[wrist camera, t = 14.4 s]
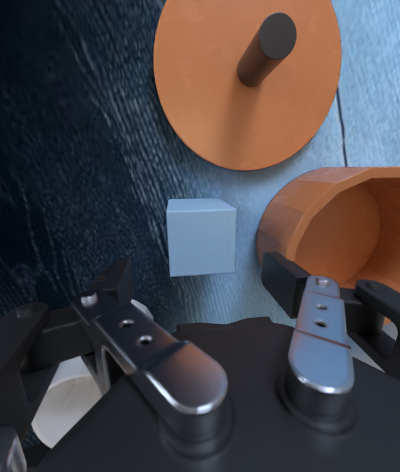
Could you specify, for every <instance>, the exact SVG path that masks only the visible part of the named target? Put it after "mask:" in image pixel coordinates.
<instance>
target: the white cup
mask: <svg viewBox="0 0 400 472" xmlns="http://www.w3.org/2000/svg"><path fill="white" fill-rule="evenodd" d="M131 303H132V304H134V305H135V306H136V307H137V308H139V309H140V310H141V311H142V312H144V313H145V314H146V315H147V316H149V317H150V318H151V319H152V320H154V318H153V316H152V314H151V313H150V311H149V310H148V308H147V307H146V306H145V305H143V304H141V303H139V302H138V301H136V300H133V299H132V300H131ZM101 397H102V396H101V392H100V390H99V387H98V385H97V384H96V382H95V380H94V379H93V377H92V375H91V374H90V372H89V371H88V369H87V367H86V366H85V364H84V362H83V361H82V359H81V356H79V357H76V358H73V359H70V360H67V361H64V362H61V363H60V365H59V367H58V369H57V371H56V373H55V375H54V378H53V380H52V382H51V384H50V386H49V388H48V390H47V392H46V394H45V396H44V398H43V400H42V403H41V405H40V407H39V409H38V411H37V413H36V415H35V417H34V419H33V421H32V423H31V424H32V427H33V430H34V432H35V433H36V435H37V436H38V438H39V439H40V440H41V441H42V442H43V443H44V444H46V445H47V446H48V447H50V448H51V449H52V448H53V447H54V446H55V444H56V443H57V442H58V441H59V440H60V439H61V438H62V437H63V436H64V435H65V434H66V433H67V432H68V431H69V430H70V429H71V428H72V427H73V426H74V425H75V424H76V423H77V422H78V421H79V420H80V419H81V418H82V417H83V416H84V415H85V414H86V413H87V412H88V411H89V410H90V409H91V408H92V407H93V406H94V405H95V404H96V402H97V401H98V400H99V399H100V398H101Z"/></svg>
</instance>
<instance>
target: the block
mask: <svg viewBox="0 0 400 472" xmlns="http://www.w3.org/2000/svg"><path fill="white" fill-rule="evenodd" d="M166 217H167V233H168V249H169V265H170V276H171V277H176V276H191V275H206V274H221V273H234V272H235V250H236V217H237V210H236V209H235V208H234V207H232V206H231V205H229V204H228V203H226V202H224V201H223V200H221V199H220V198H201V199H170V200H168V206H167V211H166Z"/></svg>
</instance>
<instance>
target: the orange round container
mask: <svg viewBox="0 0 400 472" xmlns="http://www.w3.org/2000/svg"><path fill="white" fill-rule="evenodd" d="M256 249H257V256H258V260H259V263H260V266H261V268H262V261H263V254H264V253H265V252H278V253H280V254H281V255H282V256H284V257H285V258H286V259H288V260H291V261H293V262H295V263H296V264H297V265H299V266H300V267H302V268H303V269H304V270H306V271H307V272H308V273H310V274H311V275H320V276H326V277H329V278H332V279H334V280H335V281H337V282H338V283H339V287H341V288H351V289H354V288H355V283H356V281H357V280H360V279H367V280H374V281H377V282H380V283H383V284H385V285H387V286H389V287H390V288H392V289H394V290H396V291H398V292H399V293H400V167H330V168H319V169H317V170H313V171H310V172H307V173H305V174H303V175H301V176H299V177H297V178H295V179H294V180H292V181H291V182H289V183H288V184H287V185H286V186H284V187H283V188H282V189H281V190H280V191H279V192H278V193H277V194H276V195H275V197H274V198H273V199H272V200H271V202H270V203H269V205H268V206H267V208H266V210H265V212H264V214H263V216H262V219H261V221H260V224H259V228H258V232H257V240H256ZM390 322H392V321H391V320H389V319H388V318H387V317H385V320H384V324H383V325H385V324H388V323H390Z"/></svg>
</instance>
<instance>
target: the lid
mask: <svg viewBox="0 0 400 472" xmlns="http://www.w3.org/2000/svg"><path fill="white" fill-rule="evenodd" d="M340 68H341V40H340V32H339V27H338V22H337V18H336V15H335V12H334V9H333V6H332V4H331V1H330V0H167V1H166V3H165V5H164V8H163V11H162V14H161V16H160V19H159V22H158V27H157V31H156V36H155V44H154V75H155V83H156V88H157V92H158V96H159V100H160V103H161V105H162V108H163V111H164V113H165V115H166V117H167V119H168V121H169V123H170V125H171V126H172V128H173V130H174V131H175V133H176V134H177V135H178V137H179V138H180V139H181V140H182V141H183V143H184V144H185V145H186V146H187V147H188V148H190V149H191V150H192V151H193V152H194V153H195V154H197V155H198V156H200V157H201V158H203V159H204V160H206V161H208V162H210V163H212V164H214V165H217V166H220V167H223V168H227V169H232V170H243V171H249V170H258V169H263V168H267V167H270V166H273V165H275V164H278V163H280V162H282V161H284V160H286V159H288V158H289V157H291V156H292V155H293V154H295V153H296V152H298V151H299V150H300V149H301V148H302V147H303V146H304V145H306V144H307V143H308V141H309V140H310V139H311V138H312V137H313V136H314V135H315V133H316V132H317V130H318V129H319V127H320V126H321V125H322V123H323V121H324V119H325V118H326V116H327V114H328V112H329V110H330V107H331V105H332V102H333V100H334V97H335V93H336V90H337V87H338V81H339V76H340Z"/></svg>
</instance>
